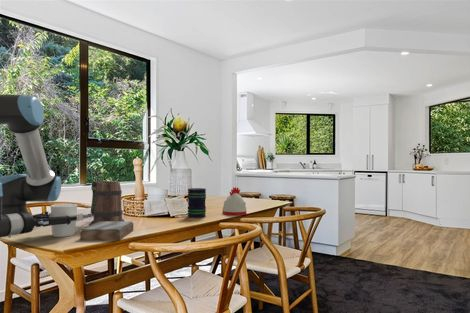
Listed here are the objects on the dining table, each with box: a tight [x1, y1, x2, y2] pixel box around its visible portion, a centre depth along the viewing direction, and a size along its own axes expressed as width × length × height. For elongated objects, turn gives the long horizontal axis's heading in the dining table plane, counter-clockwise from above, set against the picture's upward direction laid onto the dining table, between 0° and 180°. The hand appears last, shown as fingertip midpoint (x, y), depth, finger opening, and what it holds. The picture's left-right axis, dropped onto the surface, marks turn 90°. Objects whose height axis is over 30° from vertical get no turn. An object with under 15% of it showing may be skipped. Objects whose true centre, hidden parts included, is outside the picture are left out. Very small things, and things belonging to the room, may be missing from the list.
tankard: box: [88, 181, 126, 226], centre depth 167 cm, size 24×17×20 cm
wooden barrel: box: [90, 180, 110, 215], centre depth 198 cm, size 10×8×19 cm
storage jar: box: [187, 187, 207, 219], centre depth 190 cm, size 10×10×15 cm
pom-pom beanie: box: [222, 186, 247, 216], centre depth 203 cm, size 14×14×15 cm
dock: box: [79, 220, 134, 241], centre depth 142 cm, size 15×18×4 cm
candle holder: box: [50, 203, 78, 238], centre depth 142 cm, size 10×10×12 cm
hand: (72, 215), depth 145 cm, fingers open, 11 cm apart
